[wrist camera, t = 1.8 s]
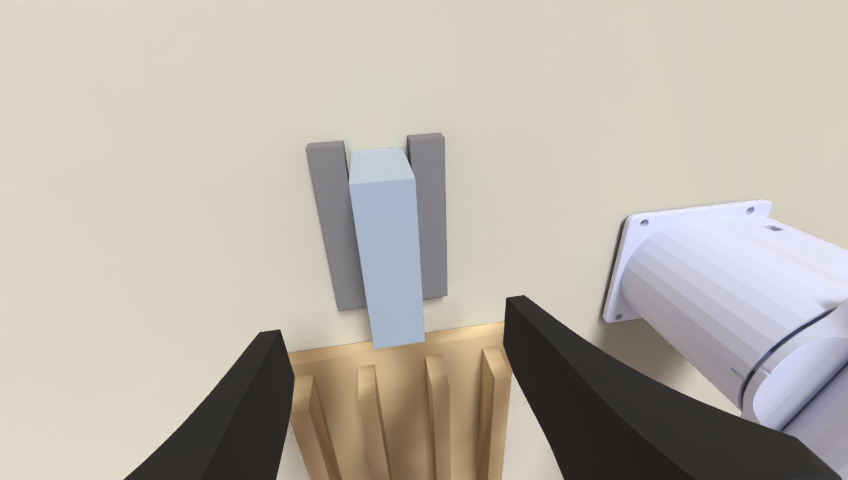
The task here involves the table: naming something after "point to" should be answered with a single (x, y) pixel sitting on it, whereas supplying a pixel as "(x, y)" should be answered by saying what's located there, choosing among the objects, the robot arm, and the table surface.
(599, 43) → the table surface
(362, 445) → the dish rack
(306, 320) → the table surface
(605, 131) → the table surface
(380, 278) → the light blue slab
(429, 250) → the drying stand
